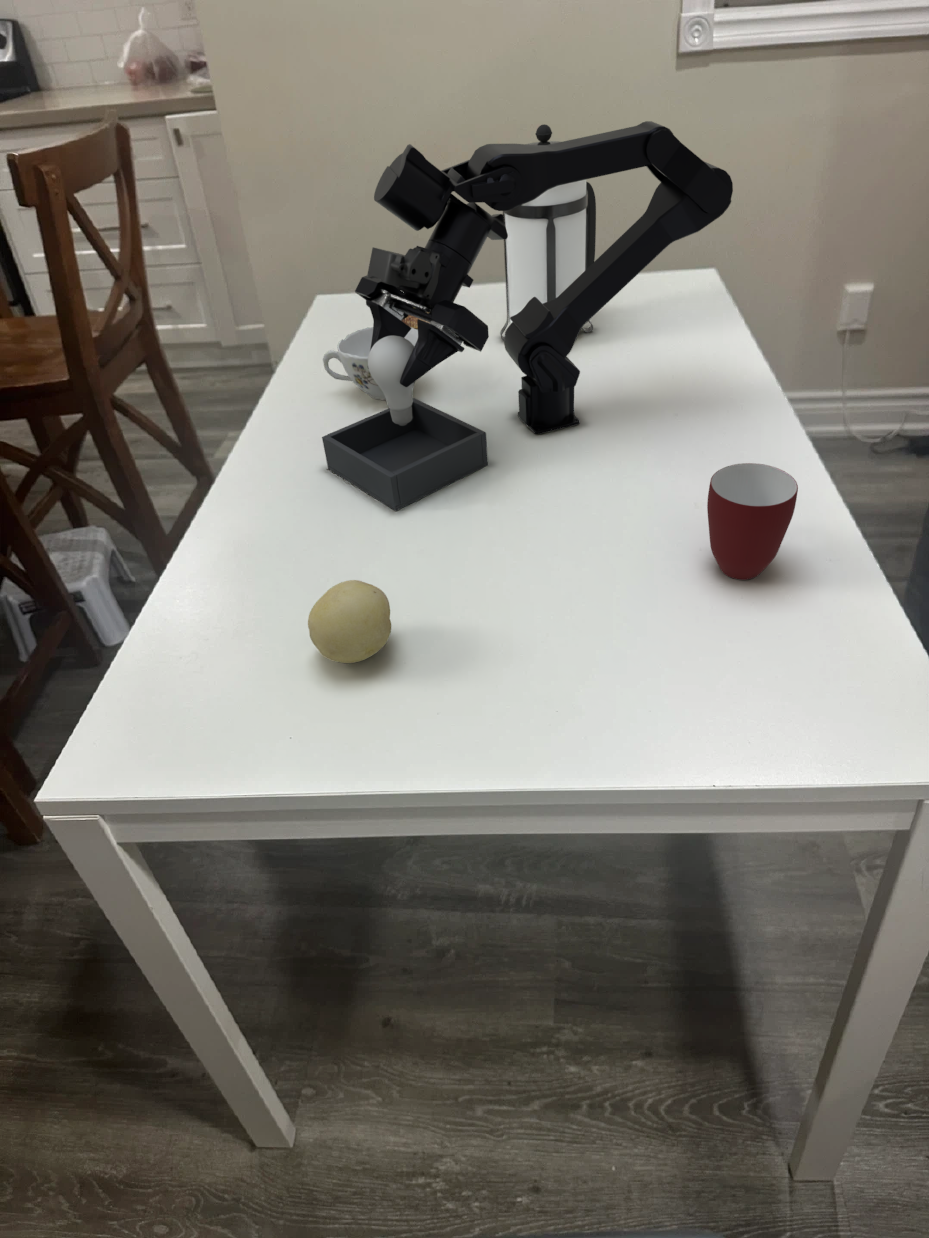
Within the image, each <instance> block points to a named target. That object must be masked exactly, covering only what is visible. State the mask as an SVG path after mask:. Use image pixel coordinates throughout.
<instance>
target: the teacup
mask: <svg viewBox="0 0 929 1238" xmlns="http://www.w3.org/2000/svg"><path fill="white" fill-rule="evenodd" d="M372 335H373V326H369V327H368V326H367V327H364V328H360V329H357V330H355V331H353V332H351V333H349V334H347V335H346V336H345V338H344V339H343V338H342V339H341V340H339V341H338V343H337V351H336V350H332V349H330V350H328V351H326V352H325V353H324V354H323V357H322V364H323V367H324V370H325V372H326V373H327V374H328V375H329V376H331V378H333V379H335V380H339V381H346V382H352V383H353V384H354V385H355V386H356V387H358V388H359V389H360V390H361V391H362V392H364V393H365V394H367V395H368V396H369V397H370V398H372V399H375V400H380V401H386V398H385V395H384V393H383V391H382V390H381V388H380V387H379V386H378V384H377V383H376V382H375V380H374V379H373V378H372V376H371V374H370V371H369V369H368V357H369V353H370V348H371V341H372ZM404 338H405V339H407V340H409V341H410V342H411V343H412V344H413V345H414V346H415V344H416V342H417V340H418V330H416V329H414V328H412V327H411V330H410V331H409V332H408V334H407V335H406V336H405V337H404ZM331 359H336V360H337V361H339V362H340V364H342V366H343V369H344V371H345V372H346V374H347V375H344V374H339V372H336V371H333V369H331V368H330V366H329V362H330V360H331Z"/></svg>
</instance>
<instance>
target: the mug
mask: <svg viewBox="0 0 929 1238" xmlns="http://www.w3.org/2000/svg"><path fill="white" fill-rule="evenodd" d="M798 489H799V486H798V482H797V481H796V479H795V478H794V477H793V476H792V475H791V474H790V473H788V472H786V471H785V470H783V469H781V468H778V467H776V466H772V465H768V464H764V463H763V464H762V463H754V462H752V463H751V462H745V463H735V464H730V465H727V466H725V467H722V468H720V469H718V470H716V472H714V473H713V475H711V478H710V481H709V486H708V492H707V493H708V494H707V505H706V507H707V510H706V512H707V520H708V521H707V524H708V534H709V544H710V545H709V546H710V551H711V553H712V555H713V557H714V560H715V561H716V563H717V565H718V567H719V569H720V571H721V572H722V574H724V575H725V576H727V577H728V578H731V579H733V580H739V581H740V580H742V581H744V580H745V581H746V580H751V579H754V578H756V577H758V576H760V574H761V573H763V571H764V570H765V569H766V568H767V567H769V565H770V564H771V563H772V562H773V560H774V559H775V558H776V556H777V554H778V553H779V550H780V548H781V546H782V543H783V541H784V538H785V535H786V533H787V531H788V529H789V526H790V524H791V522H792V519H793V516H794V513H795V508H796V505H797V504H796V503H797V498H798V492H799V490H798Z"/></svg>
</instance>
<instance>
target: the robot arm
mask: <svg viewBox="0 0 929 1238" xmlns="http://www.w3.org/2000/svg"><path fill="white" fill-rule="evenodd" d="M526 144H527V143H486V144H484V145H481V146H479V147H478V148H476V149H475V150H474V152H473V154H472V155H471V157H470V159H467V160H464V161H462V162H460V163H457V164H455V165H452V166H450V167H446V168H443V169H442V170H440V169H439V168H438V167H437V166H436V165H434V164H433V163H432V162H430V161H429V160H428V159H426V157H425V156H424V154H423V153H422V152H420V150H419V149H417V148H416V147H415V146H413V145H412V144H411V143H409V144H407V145H406V147H405V148H404V150H403V152H402V153H400V154H399V155H397V156H396V158H394V160H393V161H392V162H391V163H390V165H387V166H386V167H385V169H384V171H383V172H382V175H381V176H380V178H379V180H378V182H377V185H376V187H375V190H374V194H373V199H374V202H376V204H378V205H380V206H381V207H382V208H384V209H385V210H387V211H388V212H390V213H391V214H392V215H394V216H395V217H396V218H398V219H399V220H401V222H403V223H405V224H406V225H407V226H408V227H410V228H412V229H413V230H414V231H416V232H418V231H419V232H420V231H421V230H423V229H424V228H425V229H426V230H429V229H431V228H433V230H432V233H431V235H430V236H429V239H428V241H426V244H425V246H424V247H423V246H420V245H416V247H413V248H409V249H408V250H407V251H406V253H405V254H402V253H400V252H399V253H398V252H395V251H391V250H386V249H382V248H379V247H372V248H371V253H370V259H369V264H368V270H367V274H366V275H364V276H362V277H360V279H359V282H358V284H357V286H356V287H355V290H354V292H355V294H357V295H358V296H359V297H361V298H362V299H363V300H365V305H366V306H367V307H368V308H369V310H370V313H371V316H372V321H373V323H372V327H373V335H372V341H371V348H370V351H371V349H372V347H373V346H374V344H375V343H376V342H378V341H379V340H380V339H382V338H384V337H387V336H400V337H403V338H404V337H405V336H406V335H407V334H408V332H409V331H410V330H411V327H409V326H408V325H406V324H405V323H404V322H402V320H403V319H405V318H406V317H408V316H409V315H411V316H414V317H417V318H419V319H422V320H425V321H427V322H430V323H427V322H425V321H422V320H419V319H417V326H418V340H417V342H416V344H415V346H414V348H413V351H412V353H411V355H410V357H409V360H408V362H407V364H406V366H405V368H404V371H403V374H402V376H401V379H400V384H401V385H403V386H404V387H408V386H410V385H411V384H412V383H414V382H415V383H416V381H418V380H419V379H420V378H421V377H423V376H424V375H425V374H427V373H429V372H430V371H431V370H433V368H435V367H436V366H438V365H439V364H441V363H442V362H444V361H446V360H447V359H448V358H450V357H451V356H453V355H455V354H457V353H458V352H460V353H463V352H464V351H465V347H463V346H462V345H464V346H466V347H468V348H470V349H473V350H474V351H475V350H476V351H479V352H480V353H481V352H482V351H483V349H484V347H485V345H486V343H487V341H488V339H489V337H490V335H489V325H488V324H486V322H484V321H483V320H482V319H481V318H479V317H478V316H477V315H476V314H474V313H473V312H472V311H471V310H469V309H468V308H467V307H466V306H465V305H461V304H459V303H456V302H455V300H456V298H457V297H458V295H459V293H460V291H461V289H462V287H466V288H471V286H472V284H473V283H474V279H473V277H472V276H470V275H469V273H470V271H471V269H472V268H473V266H474V264H475V262H476V260H477V258H478V256H479V254H480V252H481V250H482V249H483V246H484V245H485V242H486V241H487V239H490V240H492V241H504V240H505V239H507V238H508V234H507V230H506V227H505V225H504V221H505V220H504V221H503V213H495V214H490V213H489V212H488V211H486V209H484V208H482V206H481V205H479V203H484V204H485V205H486V206H488V207H489V208H491V209H492V210H494V211H498V212H503V211H508V210H511V209H513V208H516V207H518V206H520V205H523V204H525V203H527V202H530V201H532V200H534V199H536V198H537V197H539V196H540V195H542V194H543V193H544V192H546V191H547V190H549V189H551V188H554V187H556V186H559V185H563V184H568V183H572V182H577V181H581V180H586V181H587V180H590V179H594V178H598V177H603V176H608V175H613V174H617V173H621V172H626V171H631V170H637V169H641V168H645V167H646V169H648V171H649V172H650V173H651V174H652V176H654V178H655V179H657V180H658V181H659V182H660V183H659V184H658V185H657V187H656V188H655V189H654V191H653V193H652V194H653V195H652V196H651V199H650V201H649V203H648V206H647V208H646V210H645V212H644V213H643V214H642V215H641V216H640V217H639V218H638V219H637V220H636V221H635V222H634V223H633V224H632V225H631V226H630V227H629V228H628V229H626V231H624V232H623V234H621V236H620V237H618V238H617V239H616V240H615V241H614V242H613V243H612V244H611V245H610V246H609V247H608V248H607V249H606V250H605V251H604V252H603V253H602V254H600V255H599V257H598V258H596V259H595V260H594V263H593V264H591V265H590V266H589V267H588V268H587V269H586V270H585V271H584V272H583V273H582V274H581V275H580V276H579V277H578V278H577V279H576V280H575V281H574V282H573V283H572V284H571V285H570V286H569V287H568V288H567V289H565V290H564V291H563V292H562V293H561V294H560V295H559V296H558V297H557V298H555V299H553V300H551V301H548V302H546V303H543V304H542V303H541V302H540V301H539V300H538V299H537V298H536V297H533V298H532V299H531V300H530V301H529V302H528V303H527V304H526V306H525V307H524V308H523V309H522V310H521V311H520V312H519V313H518V314H516V315H514V316H512V317H510V319H511V321H512V323H511V324H509V325H508V326H507V327H506V329H505V331H504V337H505V340H503V345H504V349H505V352H506V353H507V354H508V356H509V357H510V358H511V360H512V361H513V362H514V364H515V365H516V366H517V367H518V368H519V370H520V371H521V373H523V374H524V376H521V378H520V379H521V389H518V391H517V392H518V394H517V395H518V412H517V417H518V418H519V419H520V420H521V422H523V423H524V425H526V426H527V427H528V428H529V429H530V430H531V431H532V432H533V433H534V434H535V435H542V434H544V433H549V432H553V431H557V430H562V429H565V428H569V427H573V426H578V425H580V422H581V421H580V420H581V419H580V418H579V417H577V415H575V387H576V386H577V383H578V380H579V377H580V374H581V370H580V369H579V368H578V366H576V365H575V363H573V361H572V360H571V359H570V358H569V357H568V355H569V354H570V353H571V352H572V350H573V347H574V345H575V343H576V341H577V338H578V336H579V334H580V332H581V330H582V329H581V328H582V327H583V328H584V326H585V325H586V324H587V323H589V320H590V321H591V319H592V318H593V317H594V316H595V315H596V314H597V313H599V311H601V310H602V309H603V308H604V307H605V306H606V305H607V304H608V303H609V302H610V301H611V300H612V299H613V298H614V297H616V295H618V293H620V292H621V291H622V290H623V289H624V288H625V287H626V286H627V285H628V284H630V283H631V282H632V280H634V279H635V278H636V277H637V276H638V275H639V274H640V273H641V272H642V271H643V270H644V269H645V268H646V267H647V266H649V265H650V263H652V262H653V261H654V260H655V259H656V258H657V257H658V256H659V255H660V254H661V253H662V252H664V251H665V249H666V248H668V247H669V246H670V245H672V244H673V243H674V242H676V241H679V240H682V239H684V238H686V237H689V236H691V235H694V234H696V233H699V232H700V231H702V230H703V229H704V228H706V227H708V226H709V225H710V224H712V223H713V222H714V221H716V220H717V219H719V218H720V217H721V216H723V215H724V214H725V212H727V210H728V208H729V207H730V205H731V204H732V196H733V192H734V186H733V185H734V184H733V180H732V177H731V175H730V174H729V173H728V172H727V170H725V169H722V168H720V167H718V166H715V165H714V164H711V163H709V162H707V161H704V160H703V159H701V158H700V157H699V156H698V155H697V154H696V153H695V152H693V151H692V150H691V149H689V148H688V147H687V146H686V145H685V144H683V142H681V141H680V140H679V139H678V138H677V137H676V136H675V135H674V133H673V131H672V130H671V129H670V128H668V127H667V126H664V125H662V124H660V123H657V122H654V121H652V120H650V121H649V120H646V121H643V122H641V123H638V124H637V125H634V126H628V127H625V128H624V127H623V128H620V129H616V130H611V131H605V132H601V133H596V134H592V135H587V136H583V137H578V138H574V139H568V140H565V141H564V140H563V141H559V143H554V144H549V145H526ZM453 192H454V193H455V194H457V195H458V196H459V197H461V198H462V199H463V200H464V201H465V202H467V203H465V202H463V201H462V200H461V199H459V198H458V197H457V196H456V195H454V194H453ZM414 307H415V308H416V309H415V308H414ZM427 312H428V313H427ZM429 312H430V313H429ZM368 369H369V368H368ZM415 383H414V384H415Z"/></svg>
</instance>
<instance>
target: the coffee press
mask: <svg viewBox="0 0 929 1238" xmlns="http://www.w3.org/2000/svg"><path fill="white" fill-rule="evenodd" d="M552 135H553V131H552V128H551V127H550V125H548V124H541V125H539V126H538V127H537V128H536V131H535V137H536V139H537V140H538V141H535V142H529V143H525V144H526V145H549V144H554V143H559V142H560V141H556V140H550V139H551V138H552ZM502 214H503V221H504V225H505V227H506V230H507V234H508V238H507V239H505V240H503V252H504V253H503V257H504V258H503V259H504V279H505V280H504V283H505V302H506V303H505V304H506V307H505V308H506V321H505V323H504V325H503V327H502V328H501V330H500V332H499V334H500V339H501V340H502V341H504V340H505V336H503V334H504V333H505V332H506V330H507V328H508V326H509V325H510V324H511V323H512V321H511V319H510V317H512V316H514V315H516V314H518V313H519V312H520V311H521V310H522V309H523V308H524V307H525V306H526V304H527V303H528V302H529V301H530V300H531V299H532V298H533V297H536V298H537V299H538V300H539V301H540V302H541V303H542V304H543V303H546V302H548V301H551V300H553V299H555V298H557V297H558V296H559V295H560V294H561V293H562V292H563V291H564V290H565V289H567V288H568V287H569V286H570V285H571V284H572V283H573V282H574V281H575V280H576V279H577V278H578V277H579V276H580V275H581V274H582V273H583V272H584V271H585V270H586V269H587V268H588V267H589V266H590V265H591V264H593V263H594V262H595V261H596V258H595V257H596V241H597V239H596V238H597V237H596V235H597V201H596V194H595V190H594V187H593V186H592V184H591V183H590V182H589V181H587V179H586V180H581V181H577V182H572V183H568V184H563V185H559V186H556V187H554V188H551V189H549V190H547V191H546V192H544V193H543V194H542V195H540V196H539V197H537V198H536V199H534V200H532V201H530V202H527V203H525V204H523V205H520V206H518V207H516V208H513V209H511V210H508V211H502ZM588 323H589V324H590V326H589V328H585V327H584V326H583V327H582V328H581V330H582V331H583V332H584V333H586V334H590V333H592V332H593V330H594V325H593V323H592V321H591V319H590V320H589V321H588Z"/></svg>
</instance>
